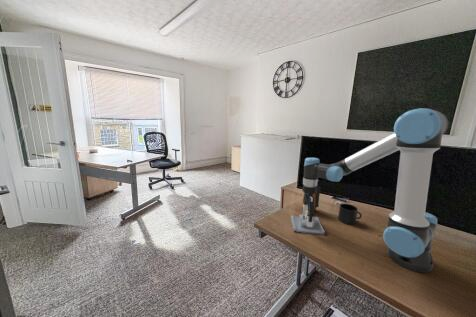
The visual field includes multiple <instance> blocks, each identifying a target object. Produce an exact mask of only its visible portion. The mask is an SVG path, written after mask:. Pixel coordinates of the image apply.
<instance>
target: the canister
mask: <svg viewBox="0 0 476 317" xmlns="http://www.w3.org/2000/svg"><path fill="white" fill-rule="evenodd" d="M321 190H322V187H321V186H320V185H319V184H317V193H315V194H313V198H314V213H315V212H316V208H318V207H320V206H319V201H320V193H321ZM302 192H303V191H302ZM303 198H304V192H303V193H302V198H301V199H302V200H301V210H302V211H303ZM307 205H308V204H307Z"/></svg>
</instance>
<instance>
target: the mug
mask: <svg viewBox="0 0 476 317" xmlns="http://www.w3.org/2000/svg"><path fill="white" fill-rule="evenodd" d="M358 214H359V217H357V216H358ZM362 216H363V215H362V213H361V212H360V211H359V210H358V207H356V206H354V205H353V204H349V203H341V204H339V209H338V216H337V217H338V221H339V222H341V223H343V224H346V225H355V224H356V223H357V220H359V219H361V218H362Z"/></svg>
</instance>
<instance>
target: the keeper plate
mask: <svg viewBox="0 0 476 317" xmlns="http://www.w3.org/2000/svg"><path fill="white" fill-rule="evenodd" d="M307 215H308V211H306V213H305V219H307V217H308V216H307ZM313 219H314V228H311V227H301V225H300V222H299V216H294V215H293V214H290V220H291V225H293V226H292V230H294V231H296V232H295V233H299V232H301V234H312V235H321V236H325V234H326V231H325V229H324V228H323V226H322V224H321V221H320V219H319V217H318V216H315V217H313ZM294 231H293V232H294Z"/></svg>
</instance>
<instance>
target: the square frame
mask: <svg viewBox="0 0 476 317" xmlns="http://www.w3.org/2000/svg"><path fill="white" fill-rule="evenodd" d="M298 217H299V222H300V225H301V227H307V219H305V215H303V213H302V214H300V213H299V216H298ZM311 228H314V219H313V224H312V227H311Z"/></svg>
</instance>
